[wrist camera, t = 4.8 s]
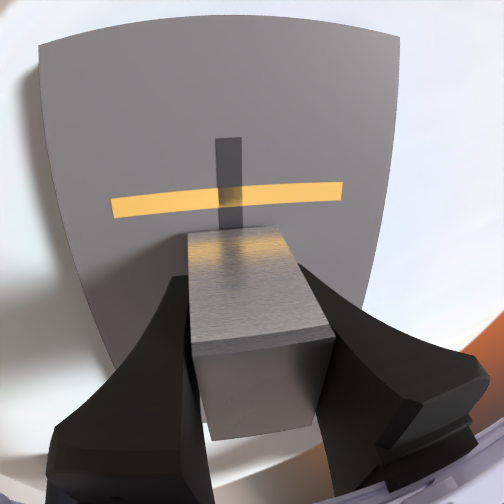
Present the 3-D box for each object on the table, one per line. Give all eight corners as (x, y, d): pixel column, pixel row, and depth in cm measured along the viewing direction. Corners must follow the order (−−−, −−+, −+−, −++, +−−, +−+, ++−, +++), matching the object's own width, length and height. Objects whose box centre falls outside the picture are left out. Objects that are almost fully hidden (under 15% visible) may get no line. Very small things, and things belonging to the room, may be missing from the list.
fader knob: (272, 314, 13) (311, 425, 9) (199, 322, 13) (211, 441, 8) (276, 225, 11) (336, 336, 7) (187, 233, 11) (192, 356, 6)
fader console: (323, 378, 20) (333, 401, 19) (145, 401, 19) (145, 426, 17) (372, 39, 10) (400, 37, 8) (60, 48, 8) (38, 45, 7)
